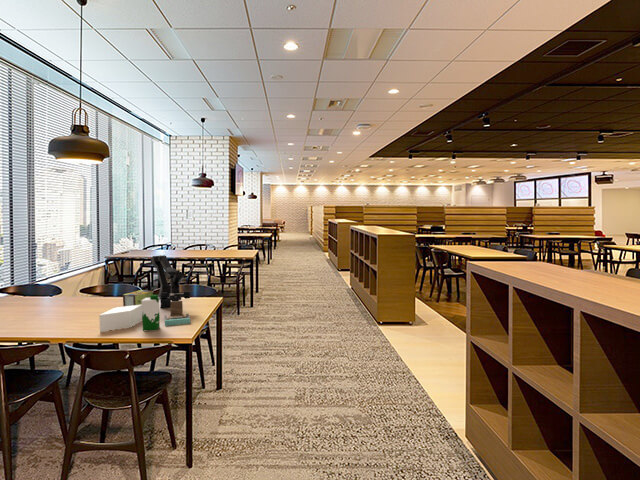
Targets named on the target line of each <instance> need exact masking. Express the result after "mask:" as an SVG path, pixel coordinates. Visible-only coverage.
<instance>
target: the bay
mask: <svg viewBox="0 0 640 480" xmlns="http://www.w3.org/2000/svg"><path fill="white" fill-rule="evenodd" d="M185 315H186V317H183V319H173V320H169V319H168V317H167V315H164V326H165V327H167V326H176V325H177V326H178V325H186V324H191V318H190V315H189V313H186V314H185Z"/></svg>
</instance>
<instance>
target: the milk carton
mask: <svg viewBox="0 0 640 480" xmlns="http://www.w3.org/2000/svg"><path fill="white" fill-rule="evenodd" d="M141 303H142V321H141V322H142V331H144V330H148V331H147V332H150V331H149V330H156V331H157V330H158V329H159V328H160V325H161V324H160V323H161V322H160V299H159V297H158V294H153V295H150V298H145V299H143V300H142V301H141ZM144 332H145V331H144Z"/></svg>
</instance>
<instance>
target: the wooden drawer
mask: <svg viewBox="0 0 640 480" xmlns="http://www.w3.org/2000/svg"><path fill="white" fill-rule="evenodd" d="M170 303H171V306H170V314H169V315H170V316H169V319H168V320H173V319H183V318H184V314H183V313H184V312H183V307H184V306H183V300H179V301H171V302H170Z"/></svg>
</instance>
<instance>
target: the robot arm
mask: <svg viewBox="0 0 640 480" xmlns="http://www.w3.org/2000/svg"><path fill="white" fill-rule="evenodd" d="M150 261H151V263H152V266H153V267H154V268H155V269H156V273H157V276H158V280H159V284H160V288H159V292H158V294H157V295H158V297H159V304H160V306H159V309H166V308H167V309H168V308H170V309H171V303H170V302H171V301H182V297H183V298H184V299H187V300H188V299H191V291H190V290H185V291H183V292H182V293H181V287H180V285H181V284H180V283H181V282H182V281H183V278H184V277H185V274H184V273H183V272H182V271H180V269H177V270H176V268H174V267H172V265H171V264H170V262H169V260H168V258H167V255H166V254H165V255H152V257H151V258H150ZM168 280H170V284H169V283H168Z"/></svg>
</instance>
